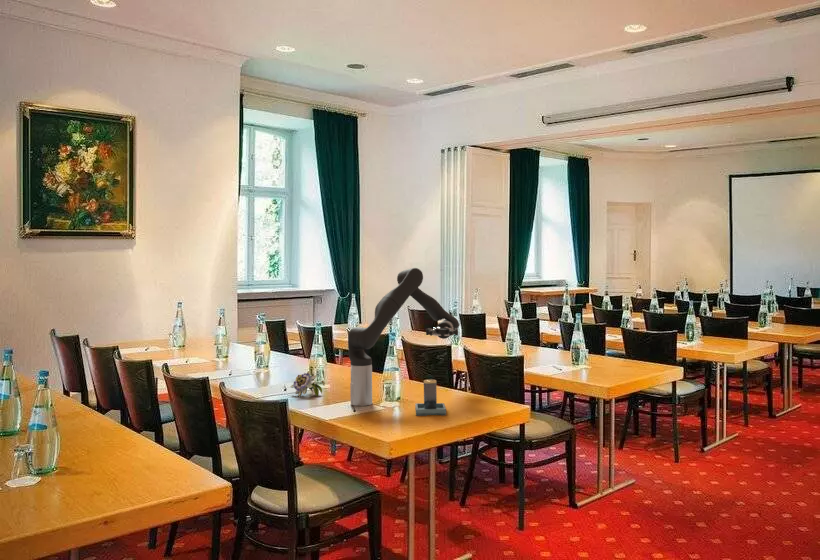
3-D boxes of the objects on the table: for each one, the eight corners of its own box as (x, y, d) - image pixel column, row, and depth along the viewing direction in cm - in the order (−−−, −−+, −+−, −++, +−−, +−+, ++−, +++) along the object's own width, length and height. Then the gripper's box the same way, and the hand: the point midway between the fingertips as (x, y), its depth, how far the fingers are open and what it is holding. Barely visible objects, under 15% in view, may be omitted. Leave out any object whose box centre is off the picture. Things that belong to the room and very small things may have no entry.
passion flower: (300, 409, 332) (283, 385, 333) (315, 399, 342) (299, 376, 344) (316, 396, 325) (299, 372, 327) (332, 387, 336) (315, 363, 337)
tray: (416, 415, 290) (416, 409, 290) (415, 409, 302) (415, 403, 302) (446, 415, 290) (446, 409, 290) (444, 409, 302) (444, 403, 302)
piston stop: (424, 411, 293) (424, 382, 293) (423, 408, 298) (423, 379, 298) (437, 411, 293) (436, 381, 293) (436, 408, 299) (435, 379, 298)
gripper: (429, 321, 334) (424, 324, 318) (459, 321, 332) (456, 325, 316) (429, 337, 334) (424, 341, 318) (460, 337, 332) (456, 342, 316)
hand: (440, 333), depth 317 cm, fingers open, 8 cm apart
